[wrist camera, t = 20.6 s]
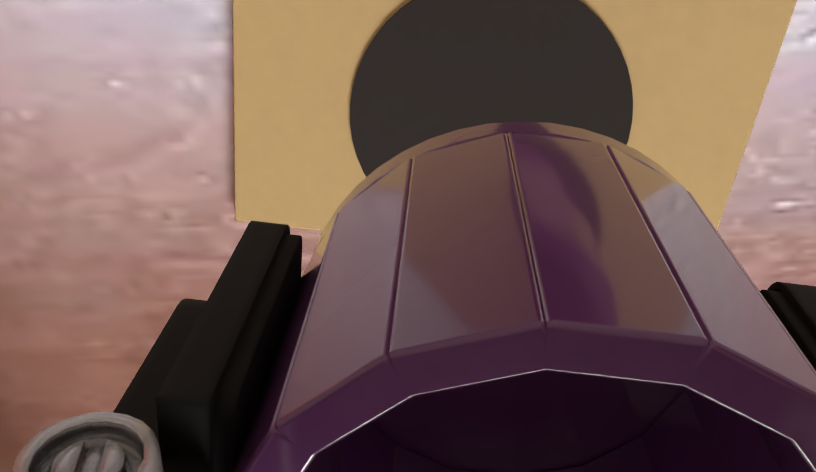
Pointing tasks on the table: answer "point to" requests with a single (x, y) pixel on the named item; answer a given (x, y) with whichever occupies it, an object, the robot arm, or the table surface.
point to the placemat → (488, 86)
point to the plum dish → (529, 324)
